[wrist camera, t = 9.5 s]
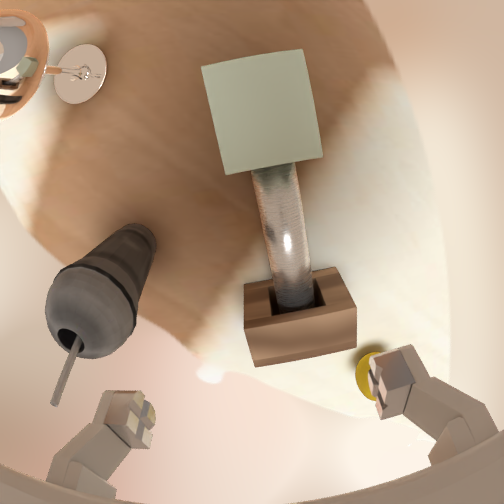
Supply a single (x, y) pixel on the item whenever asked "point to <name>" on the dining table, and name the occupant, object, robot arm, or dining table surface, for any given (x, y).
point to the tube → (285, 235)
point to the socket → (299, 321)
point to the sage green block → (263, 110)
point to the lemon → (364, 376)
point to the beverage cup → (99, 298)
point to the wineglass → (42, 64)
